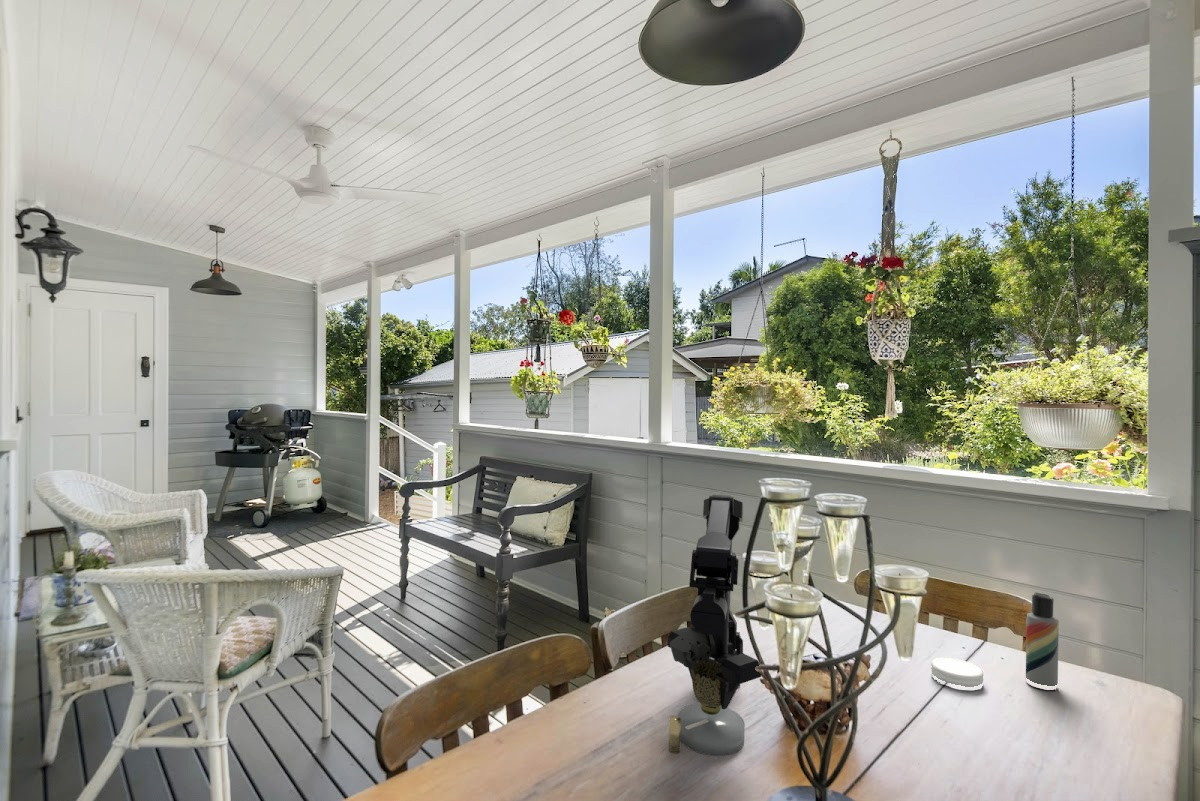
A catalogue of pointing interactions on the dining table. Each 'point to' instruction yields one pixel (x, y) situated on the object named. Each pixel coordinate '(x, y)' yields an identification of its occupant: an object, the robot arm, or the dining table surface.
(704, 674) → the cup
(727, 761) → the dining table surface
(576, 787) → the dining table surface
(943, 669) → the coaster
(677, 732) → the brass dowel
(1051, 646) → the lotion bottle
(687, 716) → the computer mouse
